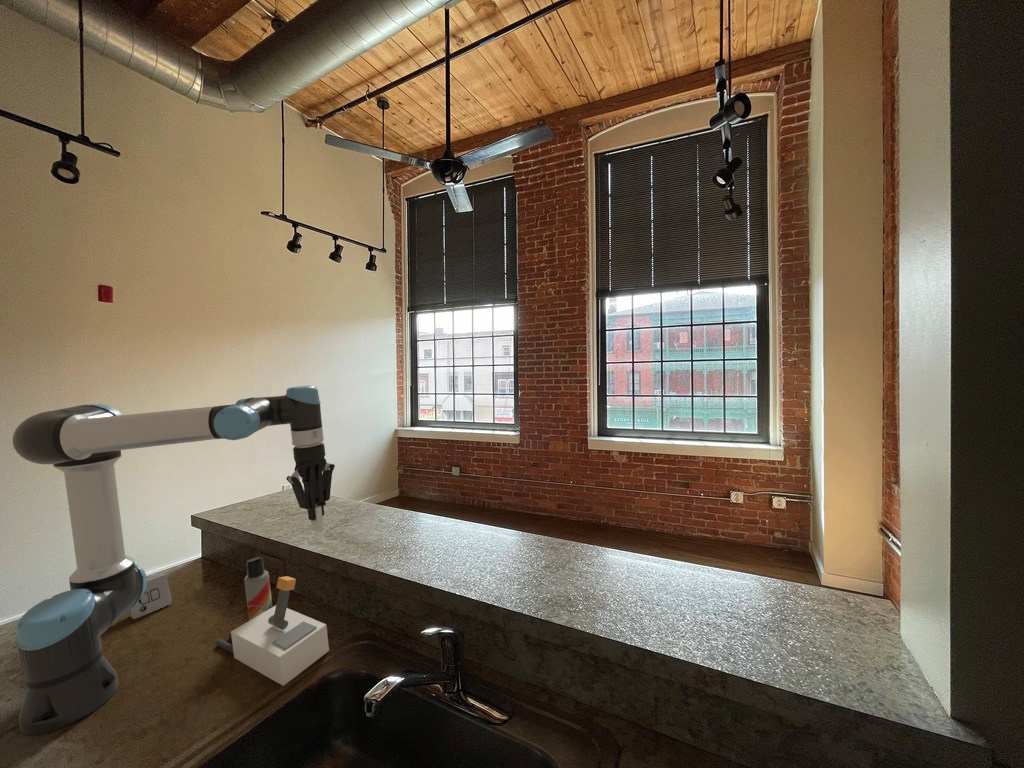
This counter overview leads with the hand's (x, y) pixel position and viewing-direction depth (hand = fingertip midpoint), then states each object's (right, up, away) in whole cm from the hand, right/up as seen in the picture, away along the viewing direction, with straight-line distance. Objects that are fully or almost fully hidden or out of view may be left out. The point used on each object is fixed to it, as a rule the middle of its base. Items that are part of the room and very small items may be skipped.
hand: (318, 529), depth 114 cm
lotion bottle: (-16, -28, +2) cm, 32 cm away
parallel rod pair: (-19, -28, -5) cm, 35 cm away
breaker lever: (-6, -20, -10) cm, 22 cm away
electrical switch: (-57, -29, +13) cm, 65 cm away
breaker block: (-5, -28, -9) cm, 30 cm away
